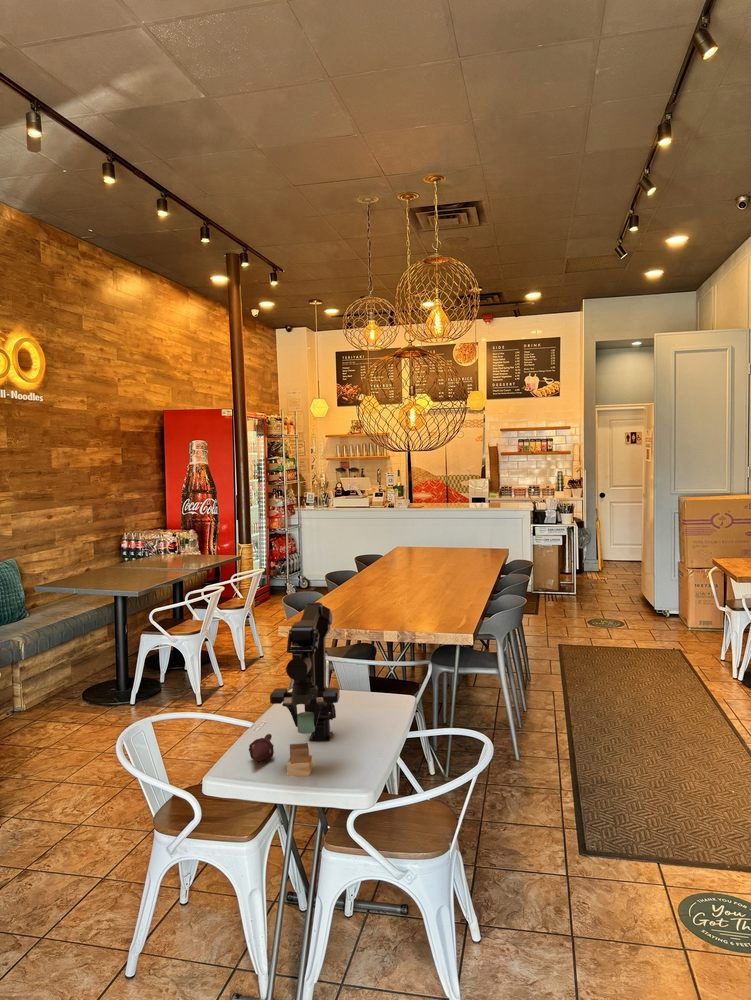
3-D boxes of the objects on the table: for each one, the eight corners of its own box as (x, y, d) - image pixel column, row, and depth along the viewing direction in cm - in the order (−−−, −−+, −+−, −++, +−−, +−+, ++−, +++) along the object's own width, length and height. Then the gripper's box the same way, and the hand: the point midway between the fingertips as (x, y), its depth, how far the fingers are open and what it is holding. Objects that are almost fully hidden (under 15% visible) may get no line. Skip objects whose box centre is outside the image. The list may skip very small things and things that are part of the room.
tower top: (290, 756, 196) (289, 744, 196) (308, 755, 197) (307, 742, 197) (290, 763, 191) (290, 751, 191) (309, 762, 192) (308, 749, 192)
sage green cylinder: (299, 727, 197) (298, 712, 197) (316, 727, 197) (315, 711, 197) (296, 733, 193) (295, 717, 193) (313, 733, 192) (313, 717, 192)
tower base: (291, 767, 197) (291, 755, 197) (312, 767, 197) (312, 755, 197) (287, 776, 191) (286, 763, 191) (309, 776, 191) (308, 764, 191)
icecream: (270, 749, 193) (283, 734, 208) (244, 742, 194) (259, 727, 209) (264, 774, 193) (277, 757, 208) (238, 767, 194) (253, 750, 209)
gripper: (264, 678, 187) (266, 737, 187) (334, 677, 186) (336, 736, 186) (273, 668, 198) (274, 723, 198) (338, 667, 197) (340, 722, 197)
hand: (306, 726), depth 195 cm, fingers closed on sage green cylinder, 5 cm apart
